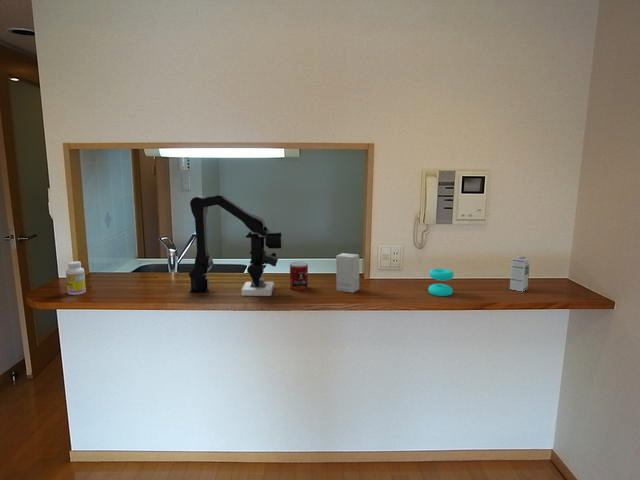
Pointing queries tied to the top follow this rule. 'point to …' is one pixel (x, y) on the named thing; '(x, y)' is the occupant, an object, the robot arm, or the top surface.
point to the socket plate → (257, 289)
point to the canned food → (298, 276)
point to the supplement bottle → (75, 278)
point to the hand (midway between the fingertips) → (258, 284)
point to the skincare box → (347, 272)
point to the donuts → (441, 288)
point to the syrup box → (519, 273)
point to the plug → (261, 283)
